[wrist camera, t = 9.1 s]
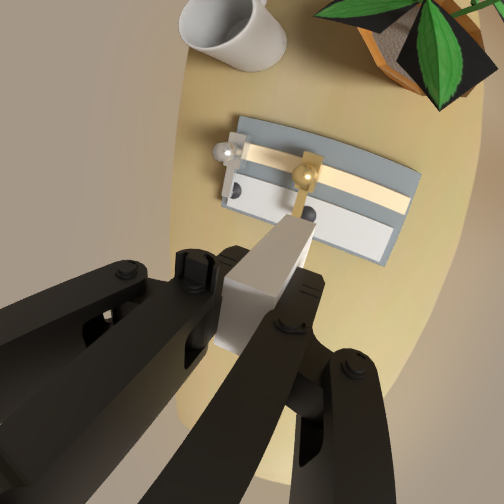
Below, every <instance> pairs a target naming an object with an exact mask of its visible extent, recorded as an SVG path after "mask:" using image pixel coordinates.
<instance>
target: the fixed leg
mask: <svg viewBox="0 0 504 504" xmlns="http://www.w3.org/2000/svg"><path fill="white" fill-rule="evenodd" d="M251 139H252V135H248V134H243V133H239V132H230V134H229V139H228V142H222V143H217V144H216V145H215V146H214V148H213V151H212V153H213V157H214V158H215V159H216V160H217V161H219V162H223V161H224V163H223V165H224V166H227V169H226V174H225V179H224V184H223V189H222V194H221V196H224V197H227V198H230V197H231V196H232V194H234V193H235V189H234V188H233V186H234V181H235V176H236V172H237V169H238V170H239V169H243V168H245V166H246V161H247V157H248V152H249V148H250V143H251Z"/></svg>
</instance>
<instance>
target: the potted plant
mask: <svg viewBox="0 0 504 504" xmlns="http://www.w3.org/2000/svg"><path fill="white" fill-rule="evenodd" d="M470 4H471V5H472V6H469V7H467V8H464V9H461V8H460V7H459V6H458V5H457V4H456V3H455V2H454V1H453V0H334V1H333V2H331V3H330V4H328V5H327V6H325V7H324V8H323V9H321V10H320V11H319V12H317V13H316V14H315V15H313V17H318V18H323V19H328V20H332V21H336V22H341V23H344V24H348V25H352V26H356V27H357V28H358V30H359V32H360V34H361V35H362V37H363V39H364V41H365V43H366V45H367V47H368V49H369V51H370V53H371V55H372V57H373V59H374V61H375V63H376V65H377V66H378V67H379V68H380V69H381V70H382V71H383V72H384V73H385V74H386V75H387V76H388V77H389V78H390V79H392V80H394V81H395V82H397V83H398V84H400V85H401V86H403V87H404V88H406V89H407V90H410V91H412V92H414V93H417V94H419V95H421V96H427V97H428V98H429V99H430V100H431V102H432V103H433V104H434V106H435V107H436V108H437V109H438V111H439V112H440V111H441V110H442V109H444V108H445V107H447V106H448V105H449V104H451V103H452V102H453V101H455V100H456V99H458V98H459V97H467V95H468V94H469V93H470V92H471V91H472V90H473V88H474V87H475V86H476V85H477V84H478V83H480V82H481V81H483V80H484V79H485V78H487V77H488V76H489V75H491V74H492V73H494V72H495V71H496V70H498V68H497V67H496V66H495V64H494V63H493V61H492V60H491V59H490V57H489V56H488V55H487V54H486V53H485V50H484V45H483V40H482V35H481V31H480V29H479V28H478V27H477V26H476V25H475V23H474V22H473V21H472V20H471V19H470V18H469V17H468V16H467V15H466V14H467V13H470V12H473V11H476V10H479V9H482V8H484V7H487V6H489V5H491V4H493V5H494V6H495V8H496V10H497V11H498V13H499V15H500V17H501V18H502V20H503V22H504V0H486V1H483V2H481V3H479V0H471V3H470Z"/></svg>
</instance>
